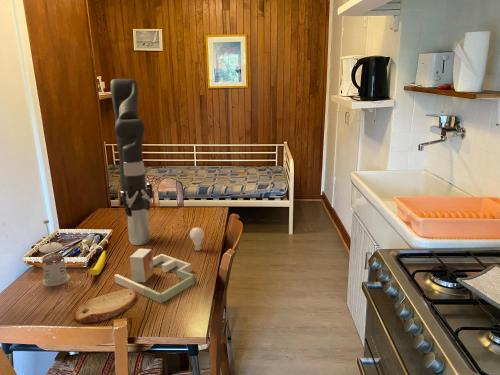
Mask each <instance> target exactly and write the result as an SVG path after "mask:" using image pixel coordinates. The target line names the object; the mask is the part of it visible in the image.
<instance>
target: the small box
mask: <svg viewBox="0 0 500 375" xmlns="http://www.w3.org/2000/svg"><path fill="white" fill-rule="evenodd" d="M153 258H154V257H153V250H152V249H151V248H150V249H149V248H138V249H137V250H136V251H135V252H133V254H131V255H130V256H129V265H130V273H131V274H130V275H131V280H132V281H134V282H136V283H146V282H147V281H148V280H149V279H150V278H151V277H152V276H153V274H154V272H155V270H154V266H153Z"/></svg>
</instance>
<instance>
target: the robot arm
mask: <svg viewBox="0 0 500 375" xmlns="http://www.w3.org/2000/svg"><path fill="white" fill-rule="evenodd" d="M110 93H111V101H112V106H113V112H114V121H115V124H114V133H115V137H116V145H117V152H118V160H119V184H120V190H119V192H118V194H119V197H118V198H119V206H120V207H123V208H125V215H126V216H127V224H126V225H127V232H128V233H127V234H128V240H129V241H128V242H130V244H131V245H133V246H144V245H146V244H148V243H150V242H151V234H150V224H149V213H148V211H149V210H150V208H151V205H150V203H151V202H150V201H151V199H153V198H154V192H153V185H152V183H149V182H146V174H145V170H146V169H145V164H144V160H143V156H144V155H143V140H144V136H145V132H146V126H145V123H144V121H143V120H142V119H139V113H138V106H139V85H138V82H137V81H136V79H132V78H113V79H111V81H110ZM121 102H122V103H121Z"/></svg>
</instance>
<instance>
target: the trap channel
mask: <svg viewBox="0 0 500 375" xmlns="http://www.w3.org/2000/svg"><path fill="white" fill-rule="evenodd" d="M152 258H153V267H158V268H161V271H162V272H163V273H168V272H171V273H173V274H176V278H178V279H181V281H179V282H177V283H176V284H174V285H173V286H170V287H169V288H167V289H166V290H164V291H162V292H159V291H156V290H154V289H152V288H150V287H148V286H145V285H143V284H141V283H139V282H134V281H132V279H129V278H127V277H125V276H122V275H120V274H119V273H118V274H117V273H116V274H114V275H113V277H114V282H115V283H116V284H118V285H120V286H122V287H123V288H125V289H132V290H133V291H135V292H136V294H140V295H141V296H143V297H144V296H145V298H148V299H150V300H153V301H155V302H157V303H158V304H163V303H164V302H166V301H168V300H169V299H171V298H172V297H175V296H177V294H179V293H181V292H182V291H184V290H186V289H187V288H189V287H191V286H193V285H194V284H195V283H197V280H196V279H197V278H196V276H197V275H196V274H193V273H191V272H192V263H190V262H186V261H184V260H181V259H178V258H175V257H173V256H169V255H166V254H164V253H160V254H158V255H156V256H153V257H152Z"/></svg>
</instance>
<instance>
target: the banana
mask: <svg viewBox="0 0 500 375" xmlns="http://www.w3.org/2000/svg"><path fill="white" fill-rule="evenodd" d="M106 254H107V253H106V250H103V251H102V253H101V254H100V256H99V257H98V260H97V262H96V264H95V266H94V267H93V268H90V267H88V268H87V272H88V273H89V275H92V276H98V275H100V274H101V273H102V271H103V268H104V265H105V261H106V257H107V256H106Z"/></svg>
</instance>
